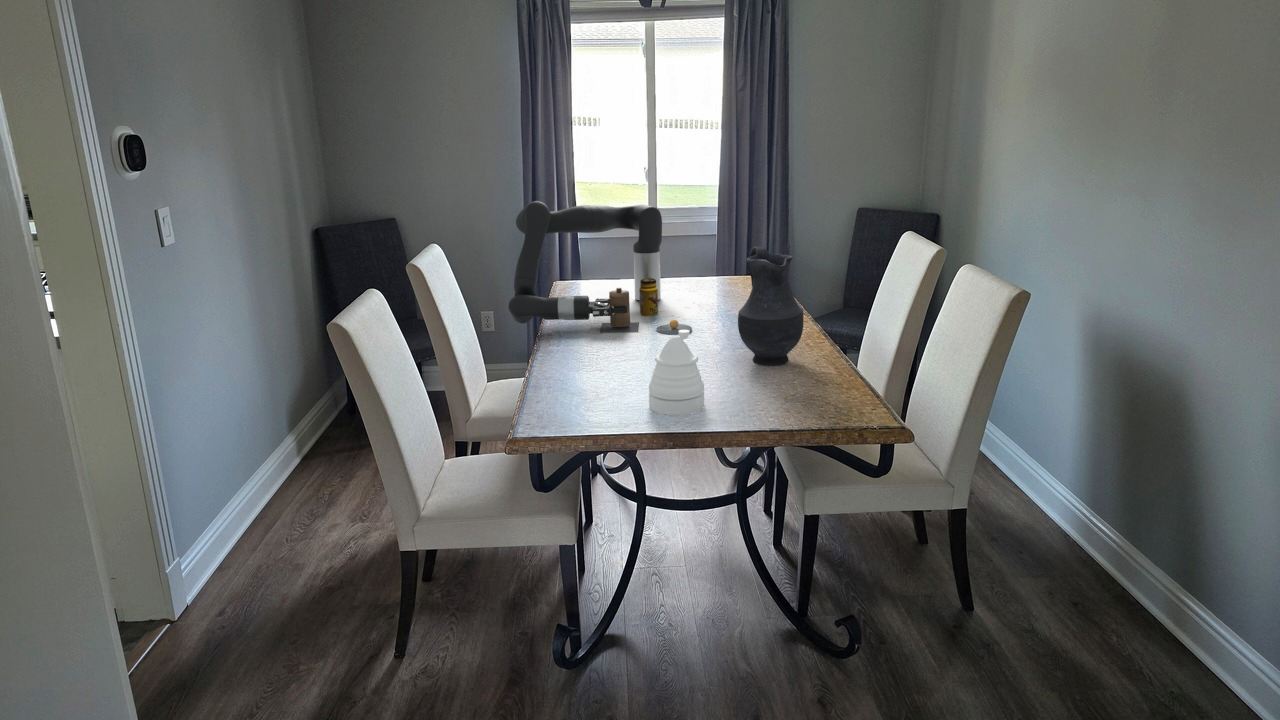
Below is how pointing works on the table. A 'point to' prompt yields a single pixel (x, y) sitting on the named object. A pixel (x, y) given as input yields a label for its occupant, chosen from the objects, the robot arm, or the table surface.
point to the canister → (620, 299)
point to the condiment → (648, 297)
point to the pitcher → (770, 310)
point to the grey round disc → (668, 330)
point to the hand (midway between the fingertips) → (627, 306)
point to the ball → (674, 324)
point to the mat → (619, 328)
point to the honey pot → (676, 379)
